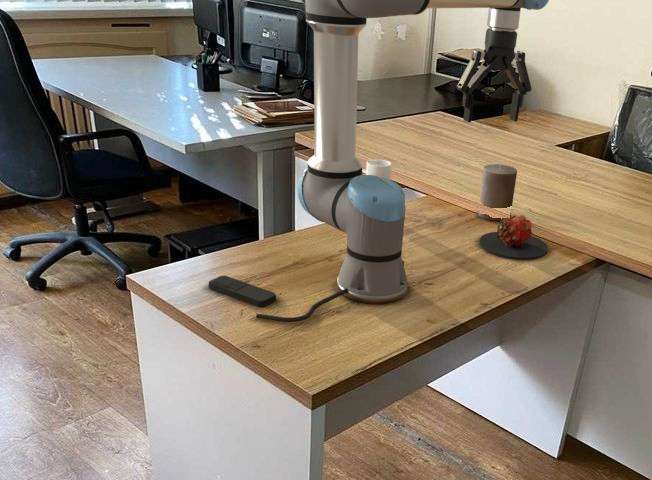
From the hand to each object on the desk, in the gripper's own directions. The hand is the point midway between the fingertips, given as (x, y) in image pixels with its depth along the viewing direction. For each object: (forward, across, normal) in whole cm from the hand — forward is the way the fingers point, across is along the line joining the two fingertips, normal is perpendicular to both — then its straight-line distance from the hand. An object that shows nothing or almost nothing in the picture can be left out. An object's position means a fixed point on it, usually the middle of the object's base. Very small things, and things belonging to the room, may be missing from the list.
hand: (490, 120), depth 177 cm
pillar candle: (+29, -10, -8) cm, 32 cm away
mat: (+29, -3, +14) cm, 32 cm away
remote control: (+29, +69, +23) cm, 78 cm away
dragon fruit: (+28, -3, +14) cm, 32 cm away
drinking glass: (+29, +24, -14) cm, 40 cm away
